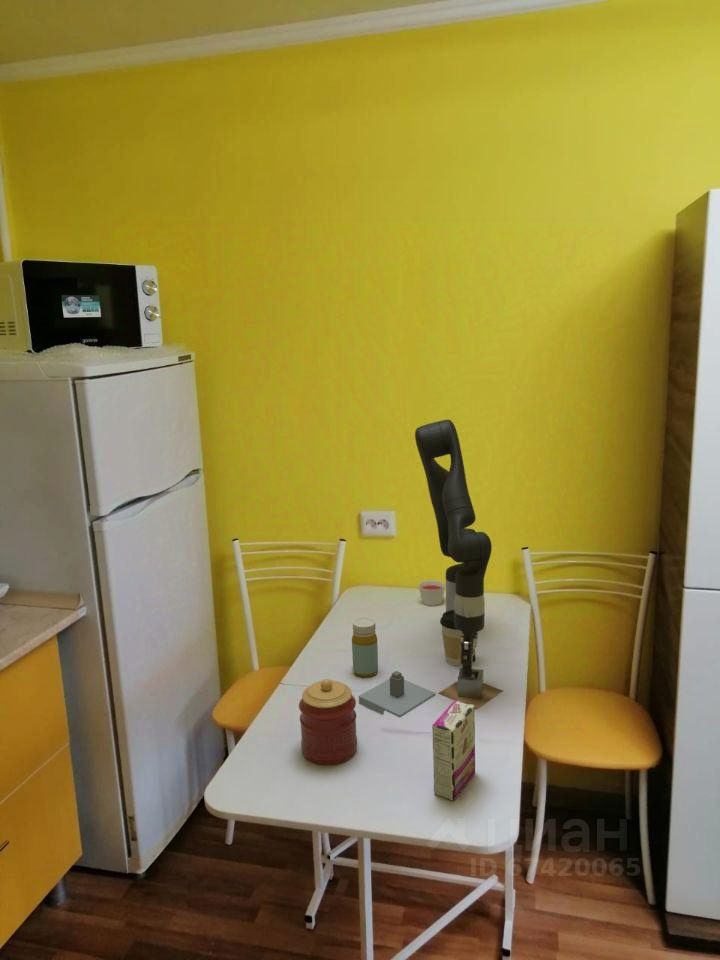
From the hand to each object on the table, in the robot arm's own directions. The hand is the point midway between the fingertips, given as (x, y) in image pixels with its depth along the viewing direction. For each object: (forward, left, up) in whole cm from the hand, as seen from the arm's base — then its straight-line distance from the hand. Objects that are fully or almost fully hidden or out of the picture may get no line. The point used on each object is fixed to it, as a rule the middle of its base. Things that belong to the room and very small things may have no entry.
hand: (469, 668), depth 185 cm
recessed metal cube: (0, 0, -7) cm, 7 cm away
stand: (0, 0, -8) cm, 8 cm away
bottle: (+8, -30, -8) cm, 32 cm away
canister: (+40, -11, -8) cm, 42 cm away
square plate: (+14, -13, -8) cm, 20 cm away
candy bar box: (+31, +18, -8) cm, 37 cm away
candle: (-43, -47, -8) cm, 64 cm away
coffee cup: (-12, -13, -8) cm, 20 cm away
